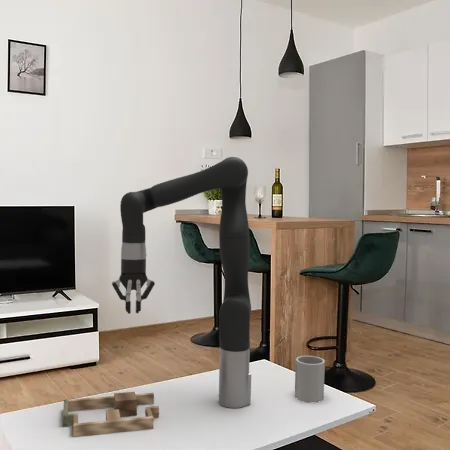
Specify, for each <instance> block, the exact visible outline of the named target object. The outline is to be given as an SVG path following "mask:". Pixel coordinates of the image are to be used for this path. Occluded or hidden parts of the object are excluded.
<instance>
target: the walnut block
mask: <svg viewBox="0 0 450 450" xmlns="http://www.w3.org/2000/svg"><path fill="white" fill-rule="evenodd" d="M135 394H136V392H135V391H129V392H128V391H124V392H114V393H113V396H114V407H113V410H116V409H119V413H120V418H131V417H137V416H138V413H137V412H138V405H137V398H136V395H135Z"/></svg>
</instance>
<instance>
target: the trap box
mask: <svg viewBox="0 0 450 450" xmlns="http://www.w3.org/2000/svg"><path fill="white" fill-rule="evenodd" d="M135 395H136V398H137V406H143V405H144V407H145V408H144V409H145V410H144V411H145V412H144V413H145V416H141V417H139V416H138V417H127V418H122V417H120V413H119V409H116V410H114V409H110V408H114V395H109V396H98V397H97V396H96V397H87V398H86V397H85V398H73V399H64V400H63V407H62V408H63V412H62V427H63V428H66V427H73V435H72V437H74V438H75V437H77V438H78V437H84V436H95V435H104V434H106V435H107V434H113V433H125V432H134V431H136V432H137V431H145V430H152V429H154V420H155V419H157V418H158V419H159V418H160V406H159V405H154V404H155V394H154V392H148V393H147V392H145V393H135ZM145 405H152V406H145ZM108 408H109V410H108ZM99 409H107V410H105V420H99V421H86V422H79V412H77V411H86V410H89V411H90V410H99ZM69 412H71V413H69ZM72 412H76V413H72Z"/></svg>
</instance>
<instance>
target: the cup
mask: <svg viewBox="0 0 450 450" xmlns="http://www.w3.org/2000/svg"><path fill="white" fill-rule="evenodd" d="M325 361H326V360H325V359H324V358H323V357H319V356H314V355H300V356H297V357H296V358H295V368H294V369H295V371H294V372H295V373H294V375H295V378H294V398H295V399H296V398H297V399H296V400H298V401H300V402H303V401H304V403H310V402H315V403H319V401H320V402H323V400H324V399H325V397H324V394H325V372H326V371H325V367H326V362H325Z"/></svg>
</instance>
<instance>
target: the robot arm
mask: <svg viewBox="0 0 450 450" xmlns="http://www.w3.org/2000/svg"><path fill="white" fill-rule="evenodd" d="M248 177H249V169H248V166H247V164H246V162H245V161H244V160H243V159H241V158H240V157H235V156H228V157H227V158H224V159H223V160H221V161H219V162H217V163H216V164H214V165H211V166H210V167H208V168H205V169H203V170H200V171H196V172H193V173H190V174H187V175H183V176H181V177H177V178H172V179H169V180H167V181H163V182H160V183H157V184H154V185H153V186H152V187H149V188H145V189H140V190H138V191H130V192H127V193H125V194H124V195H123V196H122V197H121V200H120V217H121V218H120V219H121V224H122V231H121V233H122V235H121V251H120V259H121V260H120V276H119V278H118V279H117V280H115V281H112V282H111V285H112V287H113V289H114V291H115V292H116V294H117V296H118V298H119V299H120V300H121V301H124V303H125V304H124V305H125V311H126V313H127V314H131V312H132V311H131V310H132V309H131V303H132V302H131V295H132V294H131V293H132V291H135V297H136V298H135V314H139V313H140V312H141V310H142V301H143V300H146V299H147V298H148V296H149V295H150V293H151V291H152V290H153V288H154V286H155V283H156V282H155V281H154V280H150V278H148V276H147V246H146V226H145V224H144V214H145V213H147V212H149V211H150V212H151V211H152V210H155V209H157V208H162V207H166V206H169V205H172V204H176V203H179V202H181V201H184V200H187V199H189V198H191V197H194V196H197V195H199V194H201V193H206V192H208V191H213V190H216V189H220V194H221V211H220V221H219V229H218V230H219V241H218V242H219V254H220V255H219V256H220V262H221V267H222V270H223V277H224V291H223V301H222V303H221V305H220V308H219V313H218V339H219V362H218V364H219V366H218V367H219V370H218V371H219V373H218V404H219V405H220V406H222V407H225V408H229V409H230V408H231V409H238V408H244V407H246V406H249V405H250V406H251V401H252V400H251V397H252V373H251V372H250V356H251V355H250V354H251V353H250V351H251V350H250V349H251V339H250V338H251V337H250V322H251V314H252V303H251V297H250V291H249V266H250V249H251V248H250V227H249V225H250V224H249V219H248V212H247V205H246V204H247V203H246V200H247V199H246V196H247V195H246V194H247V193H246V192H247V182H248ZM145 283H146V287H145V289H144V291H143V293H142V288H143V287H144V285H145ZM121 285H122V286H123V287H124V289H125V295H123V293H122V292H121V289H120V287H121Z"/></svg>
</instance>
